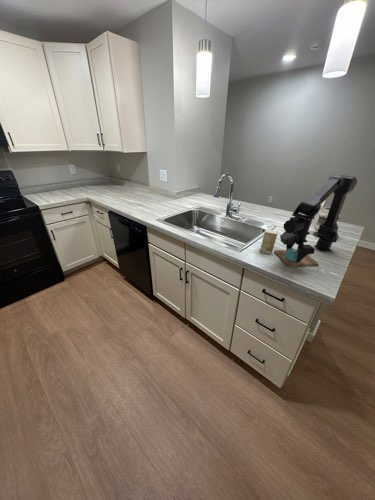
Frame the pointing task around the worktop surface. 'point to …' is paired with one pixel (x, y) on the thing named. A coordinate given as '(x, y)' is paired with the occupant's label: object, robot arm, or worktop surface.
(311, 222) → the milk carton
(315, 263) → the walnut board
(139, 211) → the worktop surface
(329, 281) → the worktop surface
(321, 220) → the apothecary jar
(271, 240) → the skincare box
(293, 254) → the cap
